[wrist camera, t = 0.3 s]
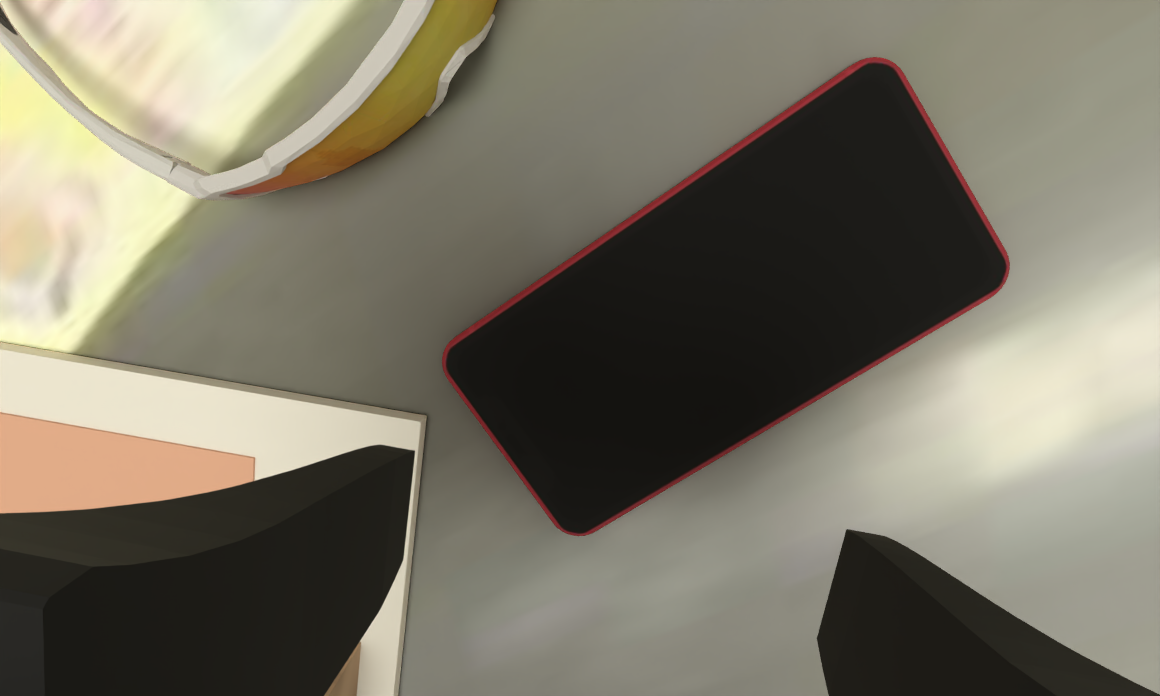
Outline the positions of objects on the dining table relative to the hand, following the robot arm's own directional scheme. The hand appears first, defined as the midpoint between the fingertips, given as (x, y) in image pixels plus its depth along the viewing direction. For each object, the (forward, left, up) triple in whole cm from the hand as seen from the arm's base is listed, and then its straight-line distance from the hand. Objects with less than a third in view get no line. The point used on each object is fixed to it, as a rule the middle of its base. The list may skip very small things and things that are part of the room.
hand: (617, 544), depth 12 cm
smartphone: (+2, -2, -10) cm, 11 cm away
